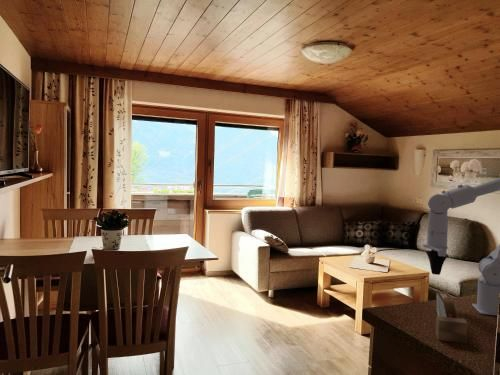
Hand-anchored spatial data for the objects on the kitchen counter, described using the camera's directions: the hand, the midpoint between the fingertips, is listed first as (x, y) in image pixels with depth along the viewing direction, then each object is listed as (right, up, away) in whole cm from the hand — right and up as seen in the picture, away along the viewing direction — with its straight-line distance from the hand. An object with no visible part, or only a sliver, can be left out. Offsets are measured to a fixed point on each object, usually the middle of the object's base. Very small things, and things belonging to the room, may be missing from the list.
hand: (435, 274), depth 120 cm
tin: (-6, -10, -17) cm, 21 cm away
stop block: (-9, -10, -26) cm, 29 cm away
